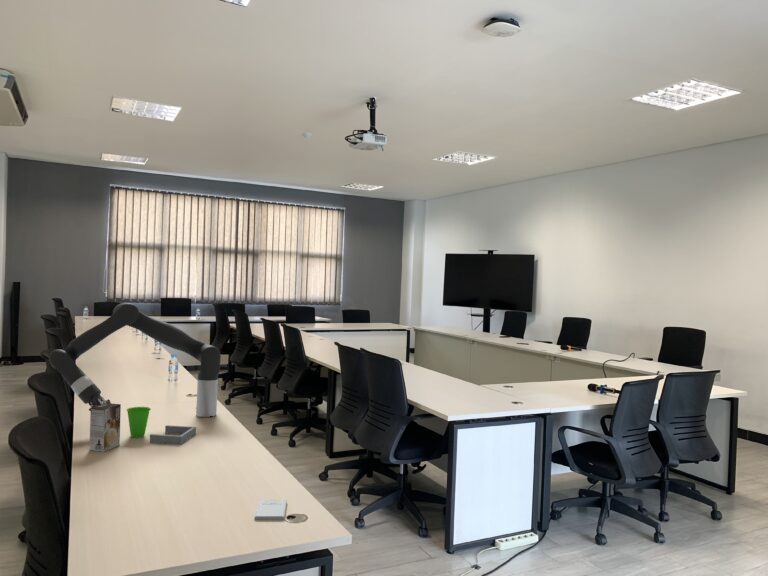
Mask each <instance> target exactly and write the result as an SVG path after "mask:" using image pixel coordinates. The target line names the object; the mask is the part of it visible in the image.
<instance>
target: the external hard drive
mask: <svg viewBox="0 0 768 576" xmlns="http://www.w3.org/2000/svg"><path fill="white" fill-rule="evenodd" d="M287 503H288V501H287V499H259V500H258V504H257V507H256V510H255V514H254V517H253V518H254V519H253V520H254V521H284V520H285V518H286V517H285V516H286V511H287Z"/></svg>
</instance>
